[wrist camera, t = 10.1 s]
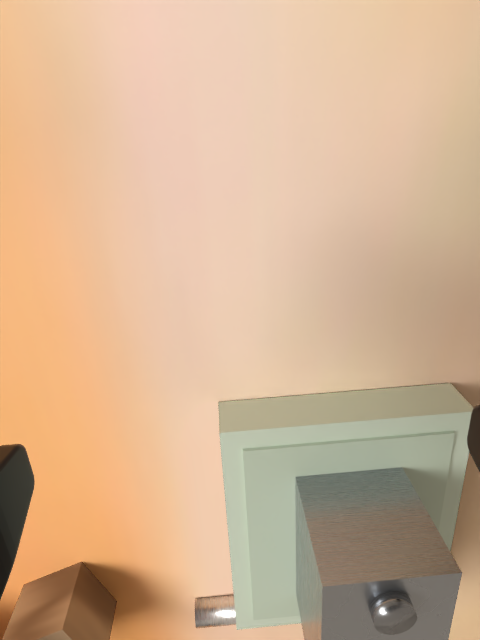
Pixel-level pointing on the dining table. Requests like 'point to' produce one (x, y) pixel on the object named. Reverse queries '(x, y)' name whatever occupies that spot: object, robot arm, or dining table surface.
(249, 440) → the pale green flat slab
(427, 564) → the block
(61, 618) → the walnut block
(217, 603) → the steel pin
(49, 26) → the dining table surface
